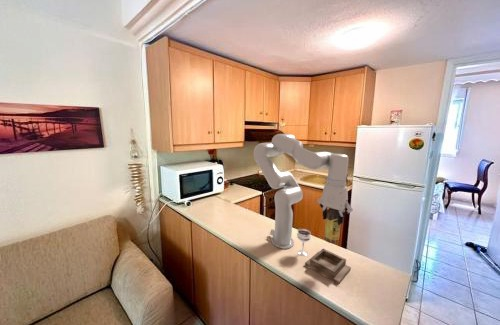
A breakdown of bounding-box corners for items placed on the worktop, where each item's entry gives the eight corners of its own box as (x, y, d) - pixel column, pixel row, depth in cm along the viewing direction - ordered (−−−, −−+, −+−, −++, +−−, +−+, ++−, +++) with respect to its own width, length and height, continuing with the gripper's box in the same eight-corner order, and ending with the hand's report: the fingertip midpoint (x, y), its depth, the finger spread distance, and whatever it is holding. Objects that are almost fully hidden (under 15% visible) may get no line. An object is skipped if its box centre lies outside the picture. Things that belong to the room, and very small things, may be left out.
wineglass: (296, 248, 110) (298, 227, 108) (309, 251, 107) (311, 230, 105) (294, 255, 103) (296, 233, 101) (308, 258, 101) (310, 236, 99)
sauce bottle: (333, 245, 88) (337, 202, 85) (321, 239, 93) (324, 198, 90) (341, 241, 92) (345, 199, 89) (329, 235, 97) (332, 195, 94)
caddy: (304, 265, 96) (305, 256, 95) (318, 254, 105) (319, 246, 104) (338, 284, 85) (339, 275, 84) (350, 270, 93) (351, 261, 93)
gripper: (313, 179, 91) (310, 217, 94) (354, 188, 79) (349, 231, 82) (321, 177, 96) (318, 212, 99) (360, 185, 84) (355, 225, 87)
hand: (332, 220), depth 90 cm, fingers closed on sauce bottle, 6 cm apart
